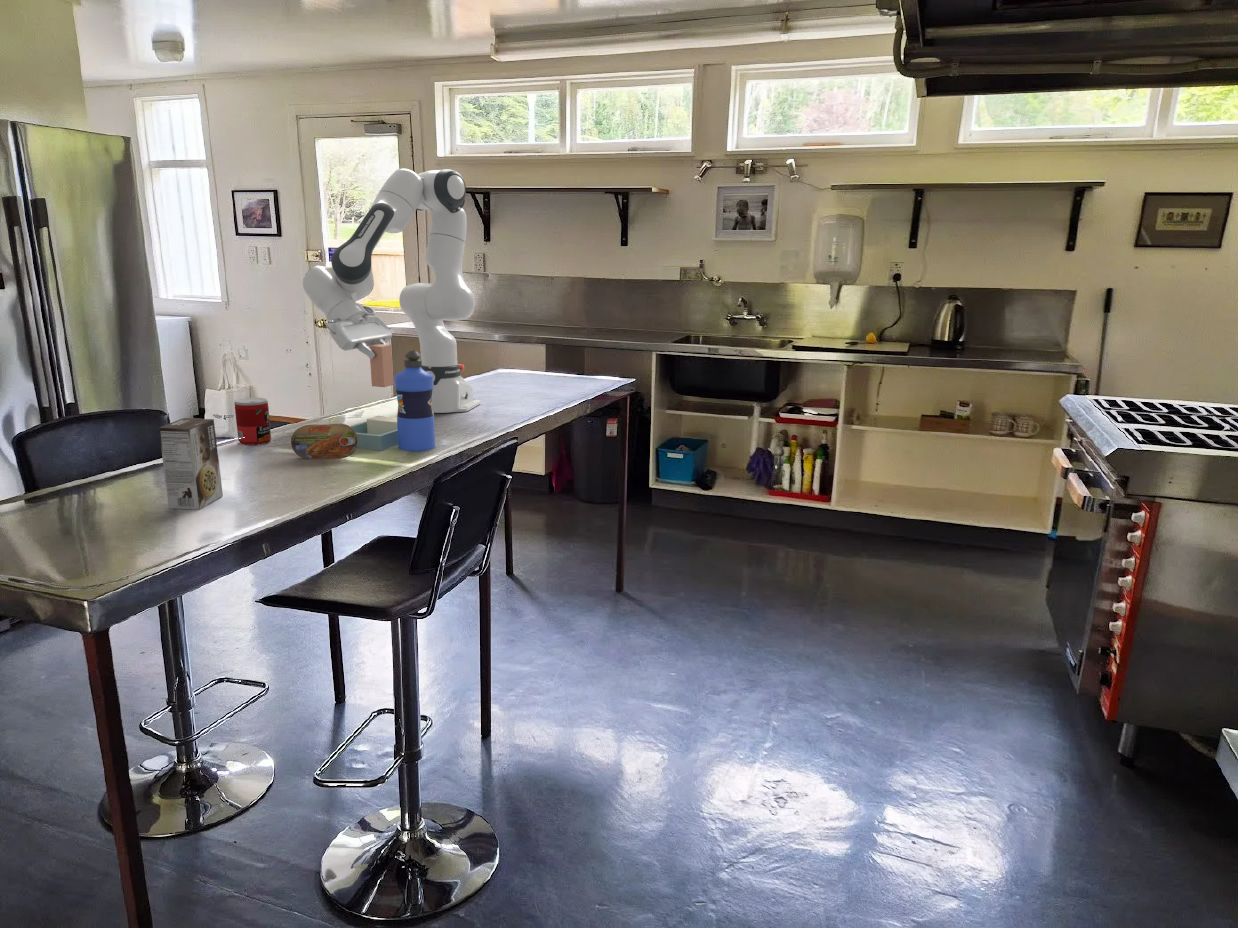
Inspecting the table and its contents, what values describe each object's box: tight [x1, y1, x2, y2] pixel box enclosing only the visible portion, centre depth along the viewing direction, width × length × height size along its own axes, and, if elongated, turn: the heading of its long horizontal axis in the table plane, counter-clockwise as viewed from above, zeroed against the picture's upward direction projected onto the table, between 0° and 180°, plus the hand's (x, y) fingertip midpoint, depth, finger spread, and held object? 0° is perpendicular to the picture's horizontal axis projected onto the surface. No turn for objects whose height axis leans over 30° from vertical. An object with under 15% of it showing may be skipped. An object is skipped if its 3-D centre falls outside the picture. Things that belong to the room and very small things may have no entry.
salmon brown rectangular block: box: [368, 344, 395, 388], centre depth 220 cm, size 4×4×11 cm
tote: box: [349, 420, 398, 452], centre depth 209 cm, size 18×14×4 cm
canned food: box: [233, 397, 272, 446], centre depth 207 cm, size 8×8×11 cm
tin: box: [290, 423, 358, 461], centre depth 194 cm, size 15×3×8 cm, turn 102°
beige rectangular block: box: [366, 415, 398, 435], centre depth 212 cm, size 5×9×5 cm, turn 71°
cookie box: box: [157, 417, 224, 510], centre depth 157 cm, size 9×6×16 cm
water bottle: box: [393, 350, 436, 452], centre depth 201 cm, size 9×9×25 cm
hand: (380, 355), depth 220 cm, fingers closed on salmon brown rectangular block, 4 cm apart
